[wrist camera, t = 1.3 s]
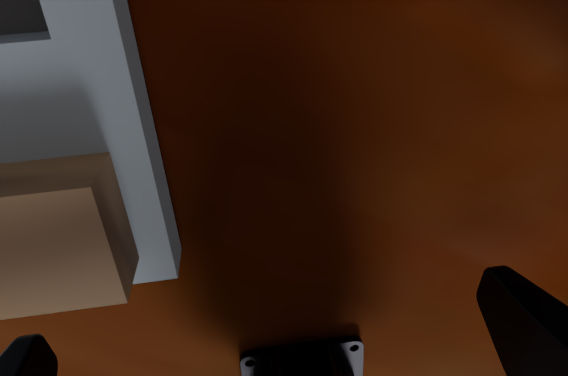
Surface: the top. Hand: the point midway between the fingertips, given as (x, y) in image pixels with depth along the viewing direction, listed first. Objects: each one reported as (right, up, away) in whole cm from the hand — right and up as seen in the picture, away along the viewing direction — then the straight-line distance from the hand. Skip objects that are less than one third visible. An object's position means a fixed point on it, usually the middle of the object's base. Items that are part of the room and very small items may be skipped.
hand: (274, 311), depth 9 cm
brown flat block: (-8, +1, +7) cm, 10 cm away
